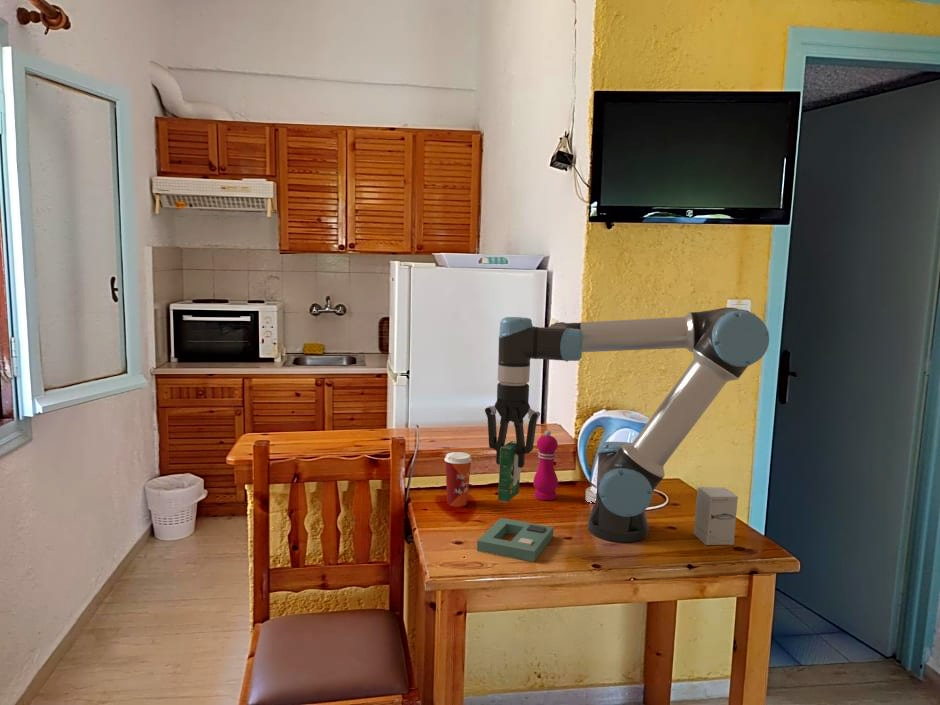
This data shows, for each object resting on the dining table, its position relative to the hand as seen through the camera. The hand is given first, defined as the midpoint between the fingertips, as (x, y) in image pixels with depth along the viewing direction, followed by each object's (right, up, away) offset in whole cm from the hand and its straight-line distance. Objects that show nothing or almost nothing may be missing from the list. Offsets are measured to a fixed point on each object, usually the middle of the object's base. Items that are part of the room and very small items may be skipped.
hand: (509, 478), depth 161 cm
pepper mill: (+12, -12, +34) cm, 39 cm away
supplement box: (+51, -17, +6) cm, 55 cm away
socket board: (+2, -16, +1) cm, 16 cm away
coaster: (+29, -13, +32) cm, 45 cm away
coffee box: (0, -5, +1) cm, 5 cm away
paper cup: (-13, -12, +28) cm, 33 cm away
